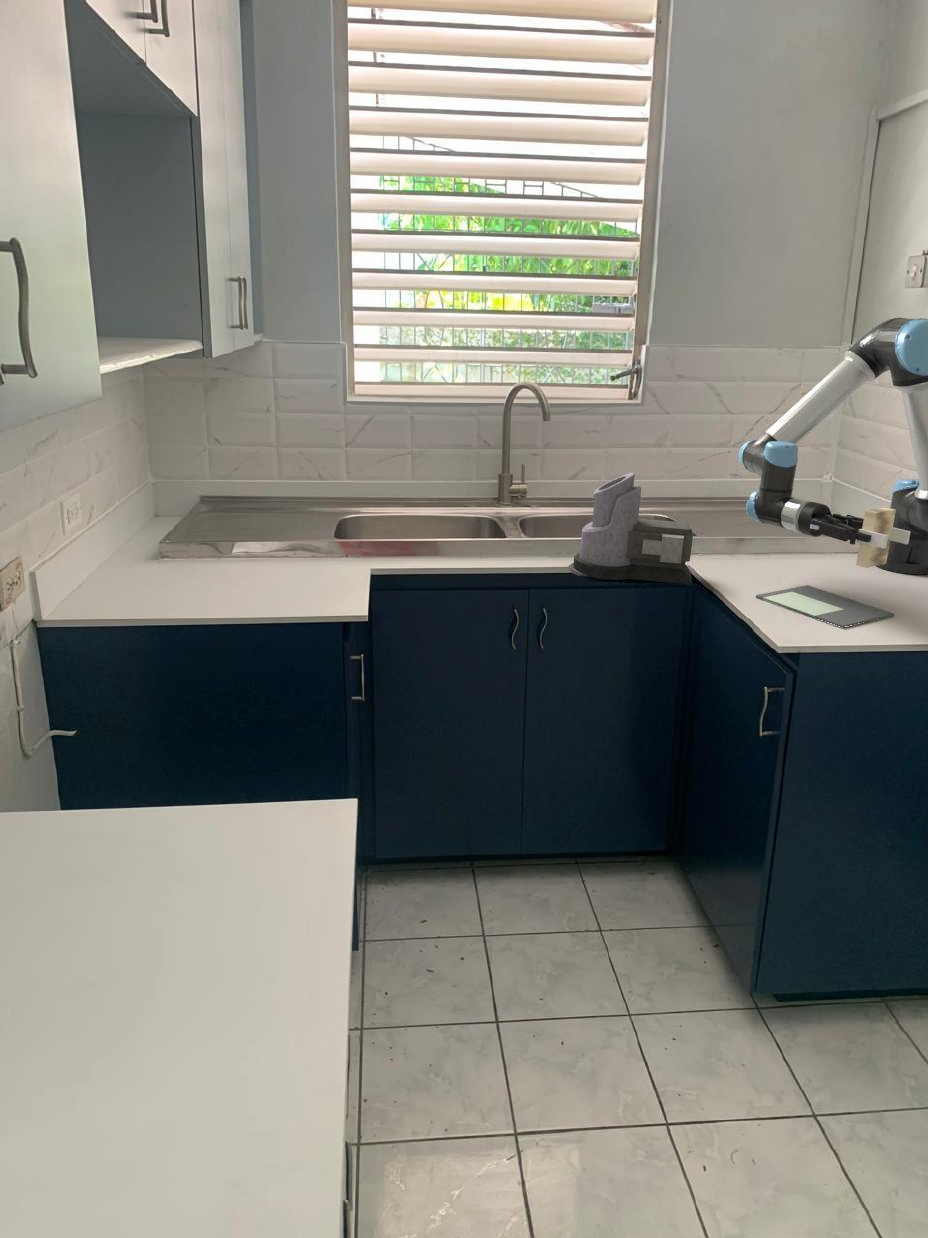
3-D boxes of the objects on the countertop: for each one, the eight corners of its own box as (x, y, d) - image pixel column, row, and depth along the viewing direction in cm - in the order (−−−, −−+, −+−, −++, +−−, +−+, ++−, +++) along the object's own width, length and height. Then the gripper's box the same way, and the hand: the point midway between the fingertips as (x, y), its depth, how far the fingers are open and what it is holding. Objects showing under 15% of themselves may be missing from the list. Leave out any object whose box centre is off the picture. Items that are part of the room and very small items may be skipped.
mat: (807, 587, 222) (807, 585, 222) (894, 616, 204) (894, 613, 204) (755, 597, 213) (756, 595, 213) (842, 628, 195) (842, 625, 195)
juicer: (565, 576, 224) (573, 474, 216) (570, 558, 239) (578, 463, 231) (692, 587, 219) (705, 484, 211) (690, 569, 234) (702, 472, 226)
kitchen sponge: (875, 560, 205) (884, 507, 201) (886, 563, 203) (895, 509, 199) (855, 564, 202) (864, 510, 198) (866, 567, 200) (875, 512, 196)
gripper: (832, 528, 221) (922, 551, 203) (775, 538, 211) (865, 563, 192) (837, 497, 218) (928, 517, 200) (780, 505, 208) (871, 527, 190)
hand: (897, 539), depth 196 cm, fingers closed on kitchen sponge, 7 cm apart
